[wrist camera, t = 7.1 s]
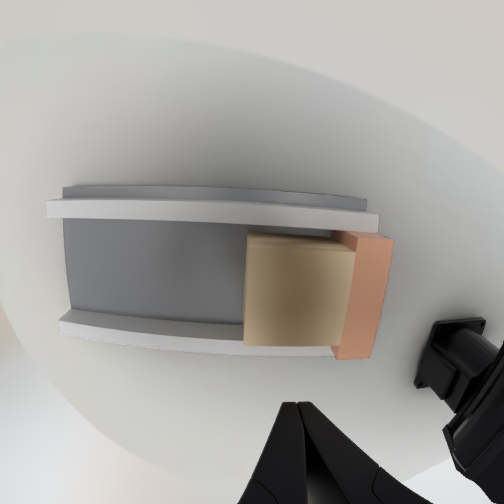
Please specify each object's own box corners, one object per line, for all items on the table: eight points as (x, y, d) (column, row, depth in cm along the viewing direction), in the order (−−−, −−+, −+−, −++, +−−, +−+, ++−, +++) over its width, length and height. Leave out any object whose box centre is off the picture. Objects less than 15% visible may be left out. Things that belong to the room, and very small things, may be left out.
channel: (360, 198, 18) (398, 205, 13) (339, 341, 20) (362, 381, 16) (70, 186, 17) (25, 191, 12) (80, 324, 20) (48, 357, 15)
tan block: (332, 236, 18) (355, 252, 14) (321, 314, 19) (339, 345, 15) (247, 231, 17) (249, 246, 14) (242, 312, 19) (243, 345, 15)
